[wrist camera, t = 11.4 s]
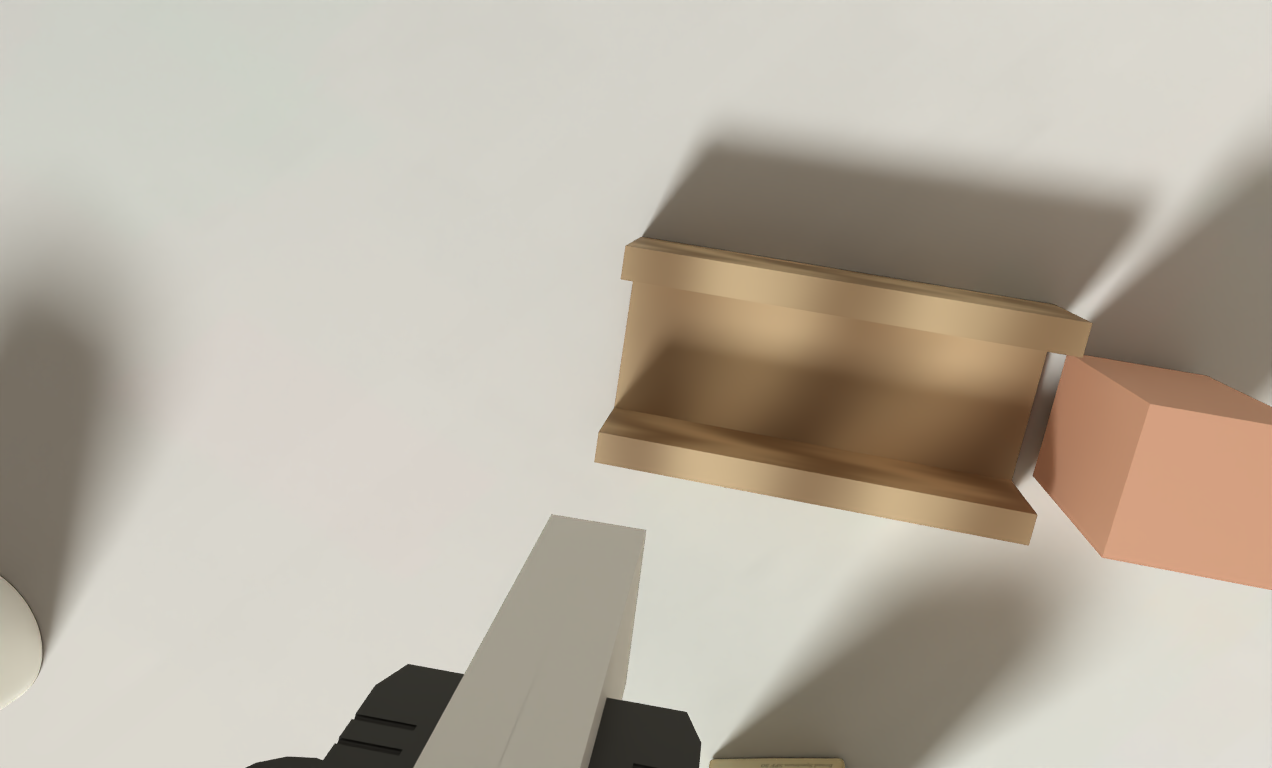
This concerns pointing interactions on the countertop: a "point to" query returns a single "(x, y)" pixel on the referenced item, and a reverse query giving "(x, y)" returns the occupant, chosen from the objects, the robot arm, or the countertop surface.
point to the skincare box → (778, 763)
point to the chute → (831, 386)
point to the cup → (17, 645)
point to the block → (1162, 468)
